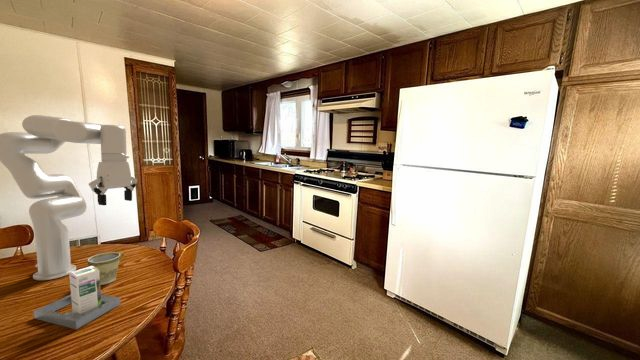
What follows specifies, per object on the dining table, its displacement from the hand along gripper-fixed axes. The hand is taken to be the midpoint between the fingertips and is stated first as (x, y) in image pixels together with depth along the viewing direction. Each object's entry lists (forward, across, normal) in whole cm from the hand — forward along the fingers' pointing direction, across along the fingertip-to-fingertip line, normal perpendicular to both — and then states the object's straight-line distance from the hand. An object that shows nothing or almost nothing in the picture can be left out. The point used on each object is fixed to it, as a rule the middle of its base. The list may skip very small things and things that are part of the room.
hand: (115, 202), depth 100 cm
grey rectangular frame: (+32, +18, +7) cm, 37 cm away
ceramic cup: (+32, 0, -5) cm, 33 cm away
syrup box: (+32, +18, +11) cm, 38 cm away
